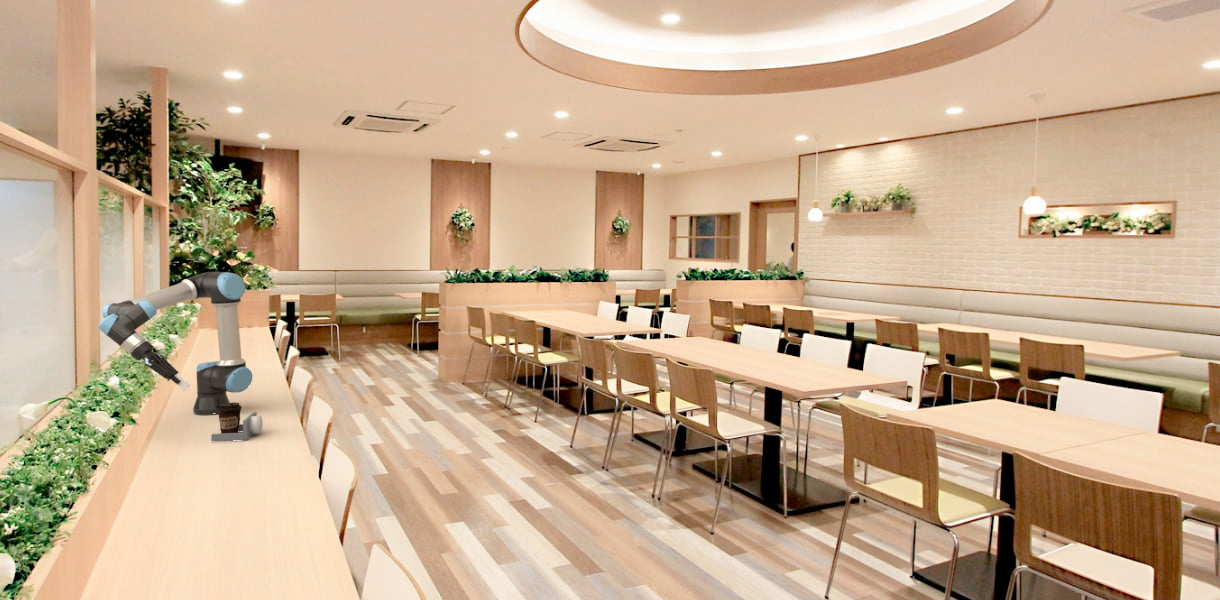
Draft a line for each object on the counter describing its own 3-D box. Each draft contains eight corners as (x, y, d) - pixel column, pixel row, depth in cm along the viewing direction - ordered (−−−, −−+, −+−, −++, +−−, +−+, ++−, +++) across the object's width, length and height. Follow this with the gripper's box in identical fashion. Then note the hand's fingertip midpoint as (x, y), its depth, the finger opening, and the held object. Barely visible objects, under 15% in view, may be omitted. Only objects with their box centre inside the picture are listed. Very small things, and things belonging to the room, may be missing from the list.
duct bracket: (223, 432, 295) (223, 413, 294) (265, 430, 298) (264, 411, 298) (211, 442, 280) (210, 422, 279) (255, 440, 283) (255, 420, 283)
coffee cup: (240, 437, 287) (240, 405, 286) (217, 439, 284) (216, 407, 283) (242, 432, 295) (242, 401, 294) (220, 433, 292) (219, 402, 291)
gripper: (137, 351, 284) (185, 391, 289) (123, 356, 272) (174, 398, 277) (152, 337, 285) (199, 377, 290) (138, 342, 272) (188, 384, 277)
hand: (187, 387), depth 283 cm, fingers closed
